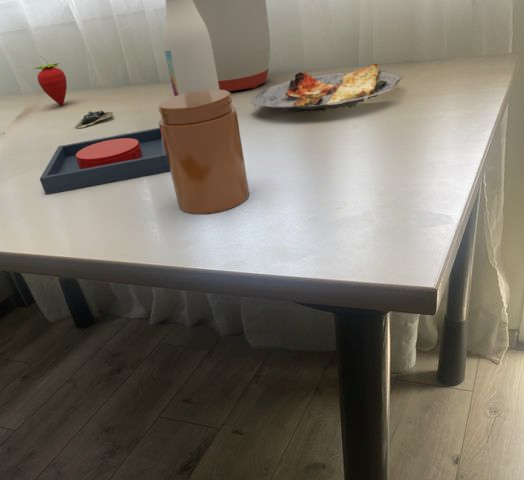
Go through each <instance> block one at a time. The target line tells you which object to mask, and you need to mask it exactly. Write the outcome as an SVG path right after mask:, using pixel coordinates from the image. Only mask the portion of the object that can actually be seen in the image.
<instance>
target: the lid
mask: <svg viewBox="0 0 524 480" xmlns="http://www.w3.org/2000/svg"><path fill="white" fill-rule="evenodd" d="M141 156H142V151H141V147H140V144H139V142H138V140H136V139H131V138H121V139H113V140H107V141H103V142H99V143H96V144H93V145H90V146H87V147H85V148H83V149H81V150H80V151H78V152H77V154H76V157H77V162H78V165H79V168H80V169H86V168H91V167H96V166H102V165H107V164H113V163H118V162H123V161H129V160H134V159H139V158H141Z"/></svg>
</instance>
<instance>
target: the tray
mask: <svg viewBox="0 0 524 480" xmlns="http://www.w3.org/2000/svg"><path fill="white" fill-rule="evenodd" d="M121 138H131V139H136V140H138V142H139V144H140V147H141V151H142V156H141V158H139V159H134V160H129V161H123V162H118V163H113V164H107V165H102V166H96V167H91V168H86V169H80V168H79V165H78V162H77V157H76V154H77V152H78V151H80V150H81V149H83V148H85V147H87V146H90V145H93V144H96V143H99V142H103V141H107V140H113V139H121ZM167 172H170V167H169V163H168V159H167V155H166V151H165V147H164V143H163V139H162V134H161V130H160V127H154V128H150V129H145V130H139V131H133V132H129V133H123V134H117V135H111V136H107V137H101V138H95V139H90V140H86V141H79V142H74V143H68V144H64V145H63V144H62V145H59V146H58V147H57V149H56V150H55V152H54V153H53V154H52V157H51V158H50V160H49V161H48V164H47V165H46V166H45V169H44V171H43V172H42V174H41V176H40V177H39V181H40V185H41V186H42V189H43V192H44V194H45V195H50V194H57V193H61V192H66V191H71V190H76V189H82V188H88V187H94V186H97V185H98V186H99V185H103V184H109V183H115V182H119V181H120V182H121V181H124V180H129V179H130V180H131V179H135V178H141V177H146V176H151V175H156V174H162V173H167Z"/></svg>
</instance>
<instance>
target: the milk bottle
mask: <svg viewBox="0 0 524 480" xmlns="http://www.w3.org/2000/svg"><path fill="white" fill-rule="evenodd" d="M164 18H165V19H164V25H163V32H162V33H163V35H162V36H163V47H164V53H165V59H166V63H167V68H168V69H167V70H168V73H169V79H170V83H171V87H172V91H173V92H172V93H173V97H174V96H177V95H181V94H185V93H190V92H196V91H203V90H219V84H218V78H217V73H216V67H215V61H214V56H213V50H212V45H211V40H210V36H209V33H208V30H207V27H206V25H205V23H204V21H203V19H202V18H201V16H200V14H199V13H198V11H197V9H196V7H195V4H194V2H193V0H165V17H164Z"/></svg>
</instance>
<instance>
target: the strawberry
mask: <svg viewBox="0 0 524 480" xmlns="http://www.w3.org/2000/svg"><path fill="white" fill-rule="evenodd" d="M39 57H40V58H42V59H43V60H45V61H46V59H45V57H42V56H41V55H40V56H39ZM59 64H60V63H59V62H58V63H57V62H56V63H49V62H48V61H46V65H41V66H38V67H34V69H35V70H41V71H39V72H38V74H37V83H38V84H39V86H40V88H41V89H42V91H43V92H44V93H45V94H46V95H47V96H48V97H49V98H50V99H52V100H53V101H54V102H55V103H56V104H57V105H59V106H64V104H65V99H66V95H67V88H68V85H67V76H66V75H65V72H64V70H62V69H60V68H59V67H58V66H59Z"/></svg>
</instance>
